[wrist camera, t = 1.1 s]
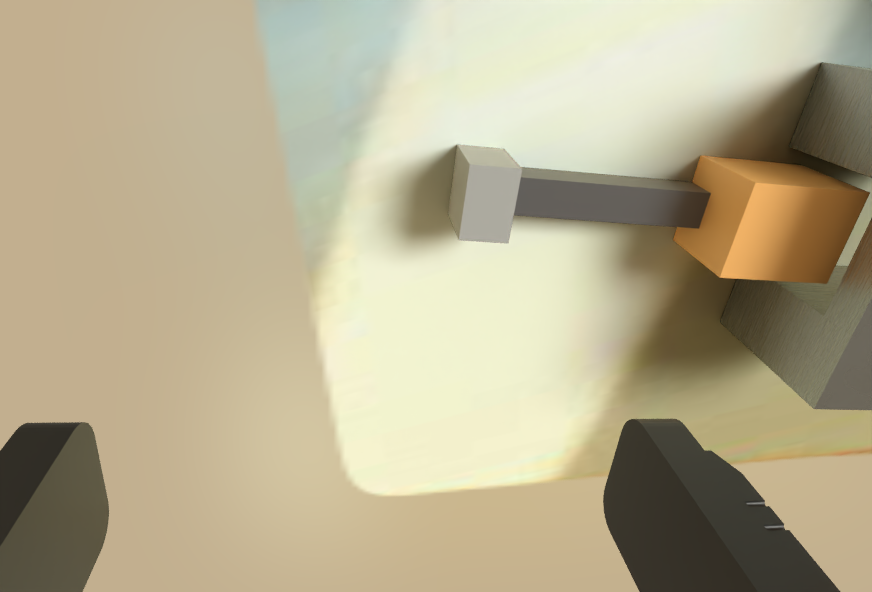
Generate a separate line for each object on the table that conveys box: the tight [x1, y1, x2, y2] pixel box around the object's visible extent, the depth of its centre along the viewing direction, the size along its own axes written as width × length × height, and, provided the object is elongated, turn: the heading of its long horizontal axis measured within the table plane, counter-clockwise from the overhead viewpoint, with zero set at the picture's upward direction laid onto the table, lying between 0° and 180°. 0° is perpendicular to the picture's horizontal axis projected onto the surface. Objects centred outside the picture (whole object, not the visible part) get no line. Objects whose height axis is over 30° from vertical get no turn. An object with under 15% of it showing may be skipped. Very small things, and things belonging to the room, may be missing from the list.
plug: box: [448, 145, 870, 284], centre depth 24 cm, size 4×16×4 cm, turn 83°
